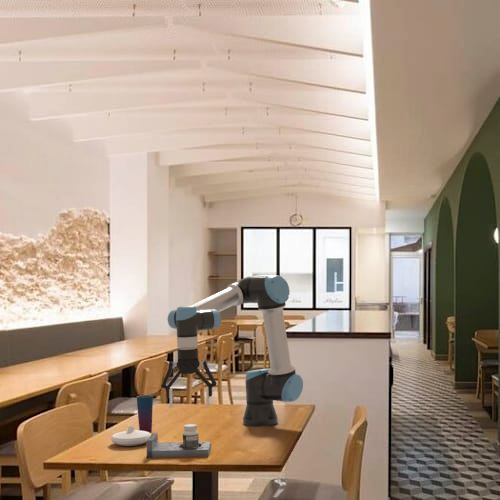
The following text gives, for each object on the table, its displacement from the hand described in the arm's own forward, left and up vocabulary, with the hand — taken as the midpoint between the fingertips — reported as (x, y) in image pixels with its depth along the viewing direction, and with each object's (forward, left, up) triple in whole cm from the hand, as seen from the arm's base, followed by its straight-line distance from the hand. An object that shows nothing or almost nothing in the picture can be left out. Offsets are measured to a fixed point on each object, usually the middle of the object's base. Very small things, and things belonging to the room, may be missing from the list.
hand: (189, 406), depth 264 cm
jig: (+4, 0, -17) cm, 17 cm away
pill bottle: (0, 0, -17) cm, 17 cm away
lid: (+25, -17, -17) cm, 35 cm away
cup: (+23, -38, -17) cm, 48 cm away
